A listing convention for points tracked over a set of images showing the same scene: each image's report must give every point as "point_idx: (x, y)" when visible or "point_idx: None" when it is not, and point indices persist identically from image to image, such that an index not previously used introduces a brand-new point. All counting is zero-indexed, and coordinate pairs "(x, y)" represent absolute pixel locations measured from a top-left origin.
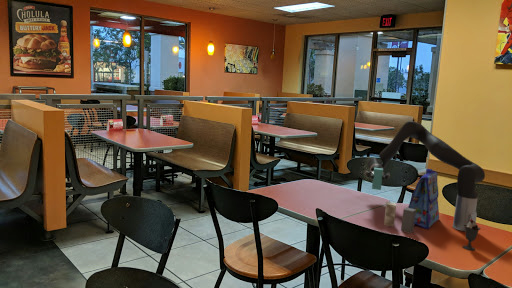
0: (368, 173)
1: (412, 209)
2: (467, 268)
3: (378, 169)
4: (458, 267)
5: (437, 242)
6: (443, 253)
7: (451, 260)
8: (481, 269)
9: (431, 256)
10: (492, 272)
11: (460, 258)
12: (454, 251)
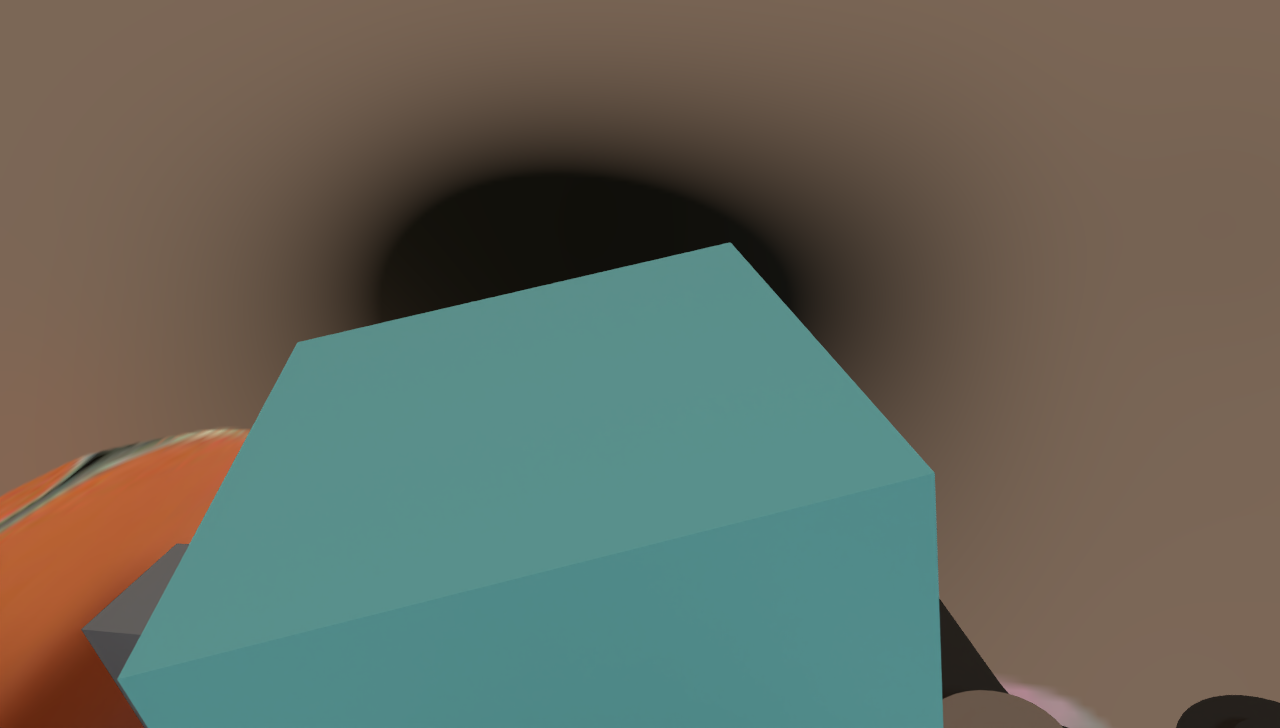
0: (1220, 725)
1: (140, 601)
2: (139, 460)
3: (529, 293)
4: (185, 447)
5: (97, 677)
6: (173, 533)
7: (177, 486)
8: (61, 486)
9: None
10: (21, 488)
11: (95, 531)
12: (60, 598)
